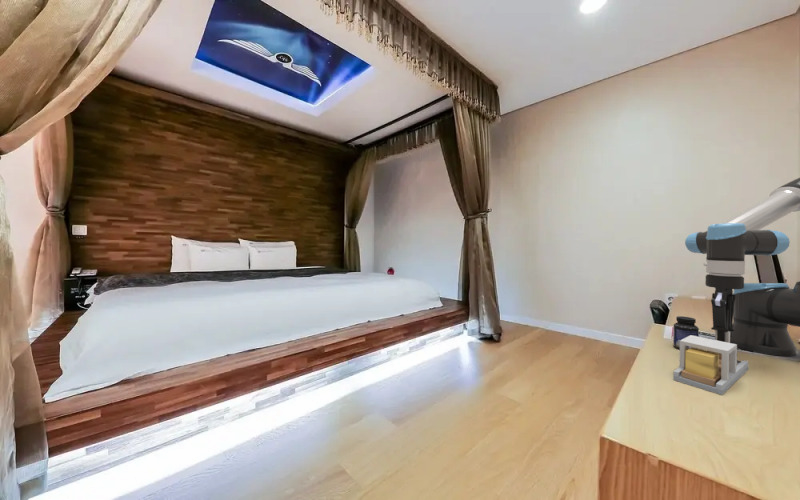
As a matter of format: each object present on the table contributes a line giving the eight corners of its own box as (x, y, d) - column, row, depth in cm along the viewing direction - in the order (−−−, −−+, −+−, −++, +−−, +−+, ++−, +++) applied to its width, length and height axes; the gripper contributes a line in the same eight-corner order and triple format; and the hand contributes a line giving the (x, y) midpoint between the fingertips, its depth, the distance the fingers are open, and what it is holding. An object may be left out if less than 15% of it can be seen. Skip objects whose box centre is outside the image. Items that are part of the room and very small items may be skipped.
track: (704, 358, 88) (705, 327, 88) (748, 369, 81) (748, 335, 81) (673, 379, 75) (673, 343, 75) (721, 395, 67) (722, 354, 67)
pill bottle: (703, 353, 93) (704, 320, 93) (682, 351, 94) (682, 319, 94) (688, 346, 99) (689, 316, 99) (668, 345, 100) (669, 315, 100)
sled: (706, 359, 85) (707, 336, 85) (737, 366, 80) (737, 342, 80) (681, 376, 74) (681, 351, 74) (714, 386, 69) (714, 359, 69)
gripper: (712, 272, 89) (710, 344, 90) (699, 274, 83) (697, 351, 84) (749, 274, 83) (747, 352, 83) (737, 277, 76) (735, 361, 77)
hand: (722, 351), depth 83 cm, fingers closed
